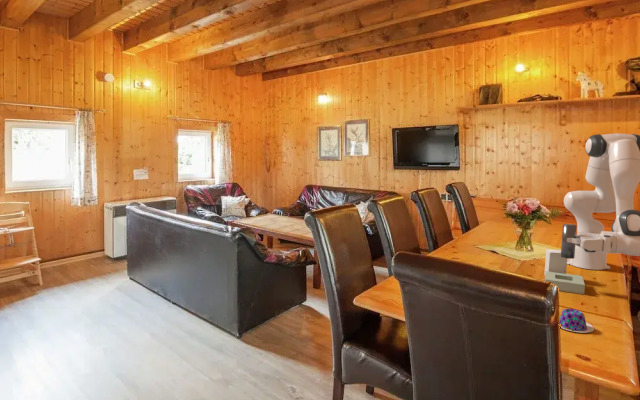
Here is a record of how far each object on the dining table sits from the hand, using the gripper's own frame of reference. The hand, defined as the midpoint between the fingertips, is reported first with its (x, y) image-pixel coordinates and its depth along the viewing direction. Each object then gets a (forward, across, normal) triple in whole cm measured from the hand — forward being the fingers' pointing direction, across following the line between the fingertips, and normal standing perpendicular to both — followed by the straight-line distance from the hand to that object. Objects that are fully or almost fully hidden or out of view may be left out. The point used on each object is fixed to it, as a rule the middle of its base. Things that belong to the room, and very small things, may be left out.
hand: (566, 238), depth 167 cm
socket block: (0, 0, +21) cm, 21 cm away
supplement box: (+3, -13, +21) cm, 25 cm away
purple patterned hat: (-1, +45, +22) cm, 50 cm away
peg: (-1, 0, +8) cm, 8 cm away
